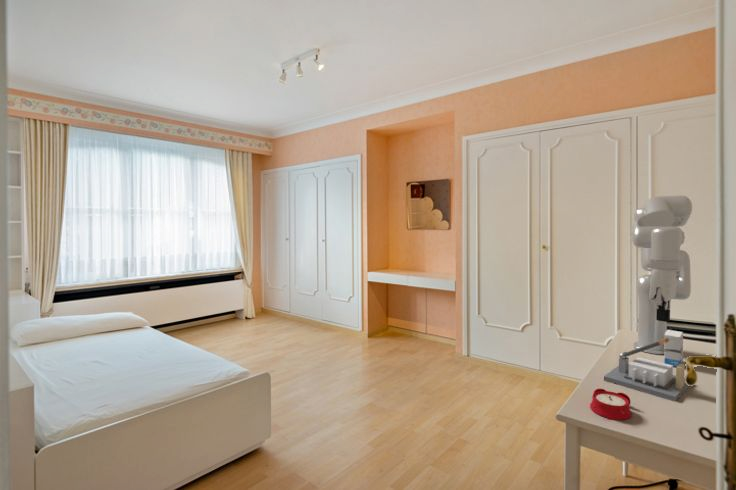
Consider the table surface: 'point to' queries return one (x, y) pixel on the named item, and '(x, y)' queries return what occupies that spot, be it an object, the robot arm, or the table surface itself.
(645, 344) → the robot arm
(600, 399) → the alarm clock
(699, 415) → the table surface
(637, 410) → the table surface
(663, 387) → the heatsink board
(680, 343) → the ink box
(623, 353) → the grey flat bar
